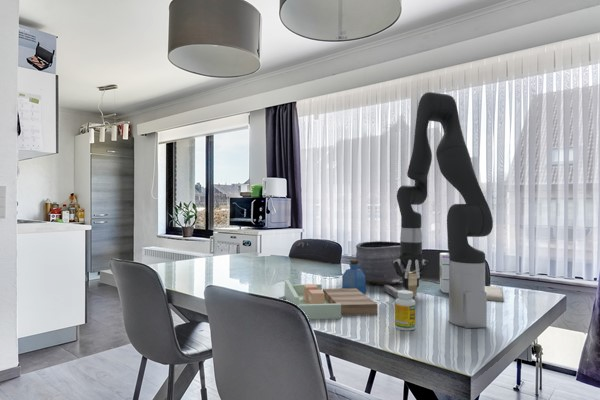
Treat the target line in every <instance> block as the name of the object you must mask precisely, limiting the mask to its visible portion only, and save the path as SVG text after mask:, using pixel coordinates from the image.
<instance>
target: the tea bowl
mask: <svg viewBox="0 0 600 400" xmlns="http://www.w3.org/2000/svg"><path fill="white" fill-rule="evenodd" d="M355 248H356V253H355V258H356V259H355V260H358V264H359V267H358V269H361V270H362V271H363V273H364V274H365V276H366V281H370V283H372V284H376V285H382V286H384V285H390V286H392V285H394V284H396V283H399V282H402V277H400V276H398V275H397V273H396V270H395V268H394V265H393V263H392V261H393V260H395V261H396V260H398V259H399V257H400V242H397V241H385V240H384V241H380V240H376V241H364V242H359V243H358V244H356V245H355ZM400 269H401V271H402V272H403V270H402V269H403V265H402V263H401V262H400ZM409 272H411V270H410V271H409Z"/></svg>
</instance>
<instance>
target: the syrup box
mask: <svg viewBox="0 0 600 400" xmlns="http://www.w3.org/2000/svg"><path fill="white" fill-rule="evenodd" d="M439 290H440V291H441V293H444V294H449V252H440V253H439Z"/></svg>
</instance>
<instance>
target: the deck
mask: <svg viewBox="0 0 600 400" xmlns="http://www.w3.org/2000/svg"><path fill="white" fill-rule="evenodd" d="M322 291H323V292H324V298H325V299H326V300H327V301H328V302H329V303H330V304H338V303H340V304H341V316H358V315H359V316H360V315H361V316H363V315H367V316H368V315H378V304H377V302H375V301H374V300H372V298H370V297H368V296H367V295H366V294H365V293H364V294H363V293H362V292H360V291H359V290H358V289H356V288H342V287H341V288H322Z"/></svg>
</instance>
